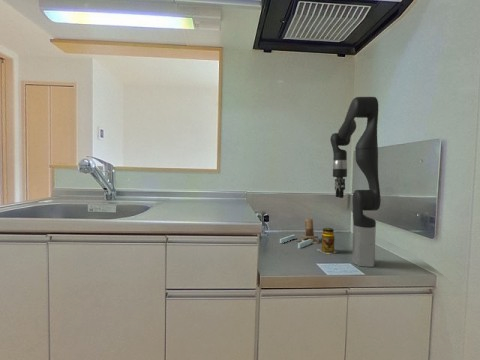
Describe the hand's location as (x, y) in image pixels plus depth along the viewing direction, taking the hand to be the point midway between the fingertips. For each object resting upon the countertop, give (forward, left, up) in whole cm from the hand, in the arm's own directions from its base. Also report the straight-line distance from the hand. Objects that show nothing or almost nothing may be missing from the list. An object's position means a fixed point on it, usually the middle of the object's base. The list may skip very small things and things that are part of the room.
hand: (339, 197), depth 153 cm
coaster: (+1, +16, -26) cm, 30 cm away
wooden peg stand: (+1, +16, -24) cm, 29 cm away
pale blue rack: (-4, +24, -26) cm, 35 cm away
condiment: (-16, +9, -26) cm, 32 cm away
